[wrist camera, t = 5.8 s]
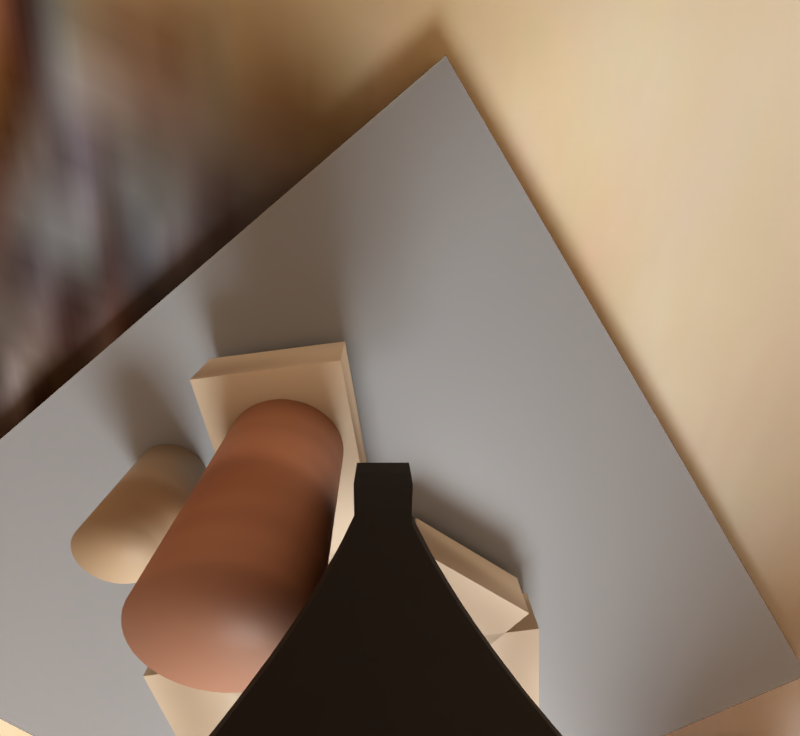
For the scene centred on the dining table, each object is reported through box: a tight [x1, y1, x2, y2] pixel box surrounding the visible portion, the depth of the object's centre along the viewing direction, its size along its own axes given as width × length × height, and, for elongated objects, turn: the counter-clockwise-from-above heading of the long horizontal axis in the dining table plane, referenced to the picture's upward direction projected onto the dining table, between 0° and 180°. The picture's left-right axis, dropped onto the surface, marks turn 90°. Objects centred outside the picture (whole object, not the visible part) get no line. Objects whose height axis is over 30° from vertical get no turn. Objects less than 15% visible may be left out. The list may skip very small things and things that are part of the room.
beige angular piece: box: [121, 341, 539, 736], centre depth 11 cm, size 17×12×6 cm
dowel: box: [71, 444, 206, 584], centre depth 11 cm, size 2×2×3 cm
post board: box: [0, 55, 800, 736], centre depth 13 cm, size 24×24×5 cm
